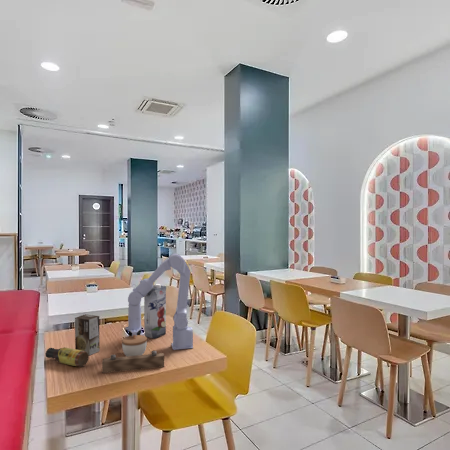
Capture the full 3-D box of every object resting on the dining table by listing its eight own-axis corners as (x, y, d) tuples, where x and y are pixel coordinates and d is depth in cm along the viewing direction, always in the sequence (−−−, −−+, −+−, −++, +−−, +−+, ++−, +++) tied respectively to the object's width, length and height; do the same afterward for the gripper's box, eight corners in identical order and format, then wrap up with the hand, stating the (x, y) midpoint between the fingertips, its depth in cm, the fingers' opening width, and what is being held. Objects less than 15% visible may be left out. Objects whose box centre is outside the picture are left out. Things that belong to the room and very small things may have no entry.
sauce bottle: (77, 356, 134) (40, 350, 141) (79, 370, 135) (42, 364, 142) (89, 347, 140) (53, 342, 147) (91, 361, 141) (55, 355, 148)
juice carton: (141, 336, 174) (141, 284, 174) (156, 331, 183) (155, 281, 183) (154, 340, 169) (154, 286, 169) (168, 334, 178) (168, 283, 178)
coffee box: (100, 350, 155) (100, 315, 155) (89, 355, 149) (89, 319, 149) (85, 347, 159) (85, 313, 159) (74, 352, 153) (74, 317, 153)
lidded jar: (117, 360, 144) (116, 338, 144) (129, 350, 155) (129, 330, 155) (139, 362, 142) (139, 340, 142) (151, 352, 152) (151, 332, 152)
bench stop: (163, 363, 141) (163, 349, 141) (164, 366, 138) (164, 352, 138) (103, 369, 135) (102, 354, 135) (102, 373, 132) (102, 357, 132)
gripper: (126, 314, 162) (126, 342, 162) (124, 322, 148) (124, 353, 148) (141, 313, 164) (141, 341, 164) (141, 321, 149) (141, 352, 150)
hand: (134, 346), depth 156 cm, fingers closed
